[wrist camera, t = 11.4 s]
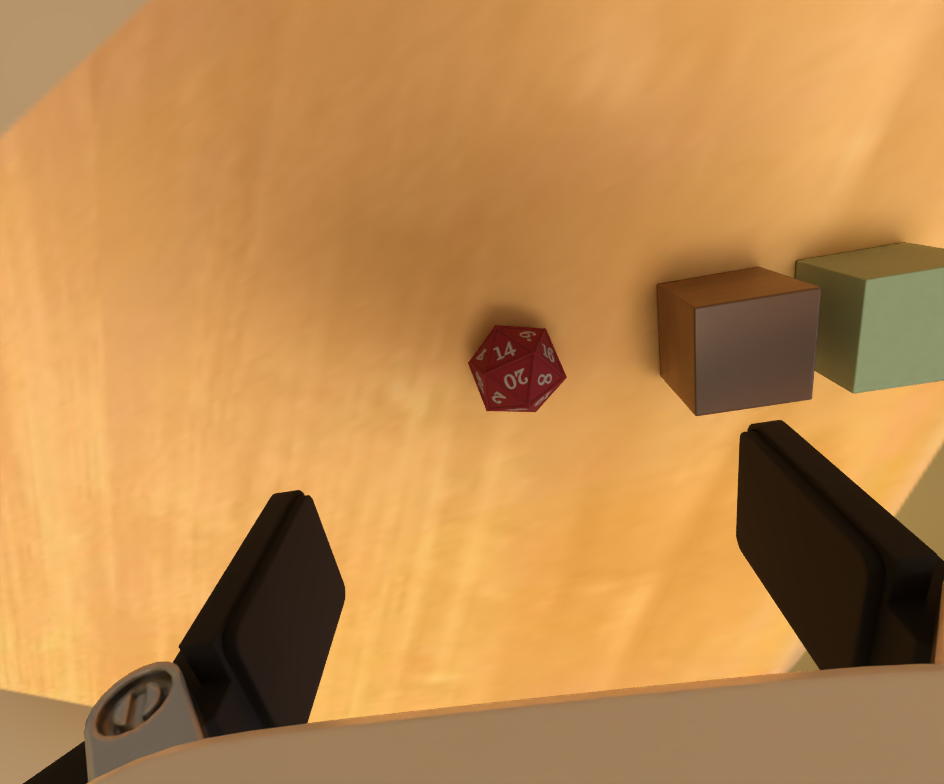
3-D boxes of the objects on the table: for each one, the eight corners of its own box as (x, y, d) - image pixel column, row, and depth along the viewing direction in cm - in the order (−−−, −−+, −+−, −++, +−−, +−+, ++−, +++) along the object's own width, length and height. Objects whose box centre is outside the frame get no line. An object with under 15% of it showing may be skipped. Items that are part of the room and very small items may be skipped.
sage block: (795, 260, 23) (866, 279, 18) (904, 241, 22) (1001, 257, 18) (789, 356, 24) (853, 394, 20) (890, 341, 24) (976, 376, 20)
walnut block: (656, 283, 23) (693, 307, 19) (760, 266, 23) (822, 286, 18) (660, 376, 25) (695, 417, 21) (757, 361, 24) (812, 400, 20)
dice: (532, 296, 23) (541, 318, 20) (568, 379, 25) (582, 415, 21) (457, 330, 24) (452, 358, 20) (496, 409, 26) (499, 448, 22)
